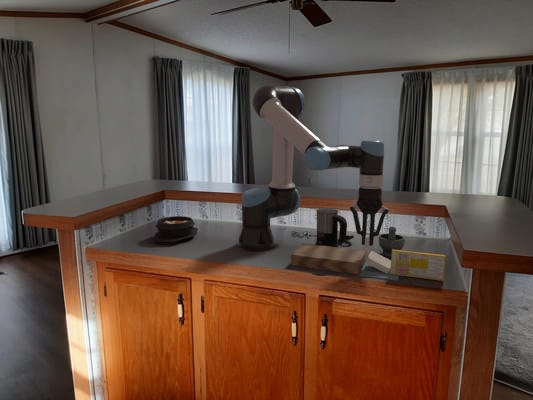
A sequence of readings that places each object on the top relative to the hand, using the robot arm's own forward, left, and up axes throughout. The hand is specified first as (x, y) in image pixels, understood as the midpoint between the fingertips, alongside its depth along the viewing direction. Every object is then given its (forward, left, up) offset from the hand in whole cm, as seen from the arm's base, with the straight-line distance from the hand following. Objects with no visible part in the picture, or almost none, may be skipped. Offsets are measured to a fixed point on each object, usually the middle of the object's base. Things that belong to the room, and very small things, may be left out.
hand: (366, 254), depth 132 cm
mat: (+5, 0, -5) cm, 7 cm away
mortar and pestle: (+7, +18, -5) cm, 20 cm away
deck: (-13, 0, -5) cm, 14 cm away
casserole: (-84, +7, -5) cm, 85 cm away
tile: (+4, 0, -3) cm, 5 cm away
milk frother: (-16, +24, -5) cm, 29 cm away
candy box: (+16, -3, -5) cm, 17 cm away
